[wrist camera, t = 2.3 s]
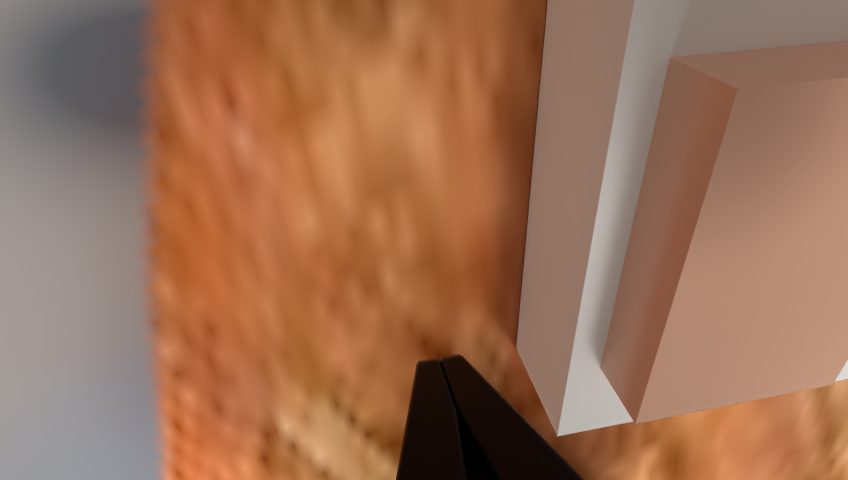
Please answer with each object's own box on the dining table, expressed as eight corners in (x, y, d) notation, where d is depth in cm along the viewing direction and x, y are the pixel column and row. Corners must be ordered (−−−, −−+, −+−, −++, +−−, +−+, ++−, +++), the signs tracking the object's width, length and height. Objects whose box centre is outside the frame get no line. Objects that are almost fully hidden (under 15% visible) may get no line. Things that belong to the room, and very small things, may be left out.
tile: (779, 335, 16) (832, 384, 15) (599, 367, 16) (635, 423, 14) (924, 33, 11) (1029, 57, 10) (670, 57, 10) (738, 88, 9)
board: (789, 301, 22) (874, 373, 19) (516, 348, 20) (557, 436, 17) (997, -140, 14) (1217, -148, 10) (558, -121, 12) (655, -124, 9)
